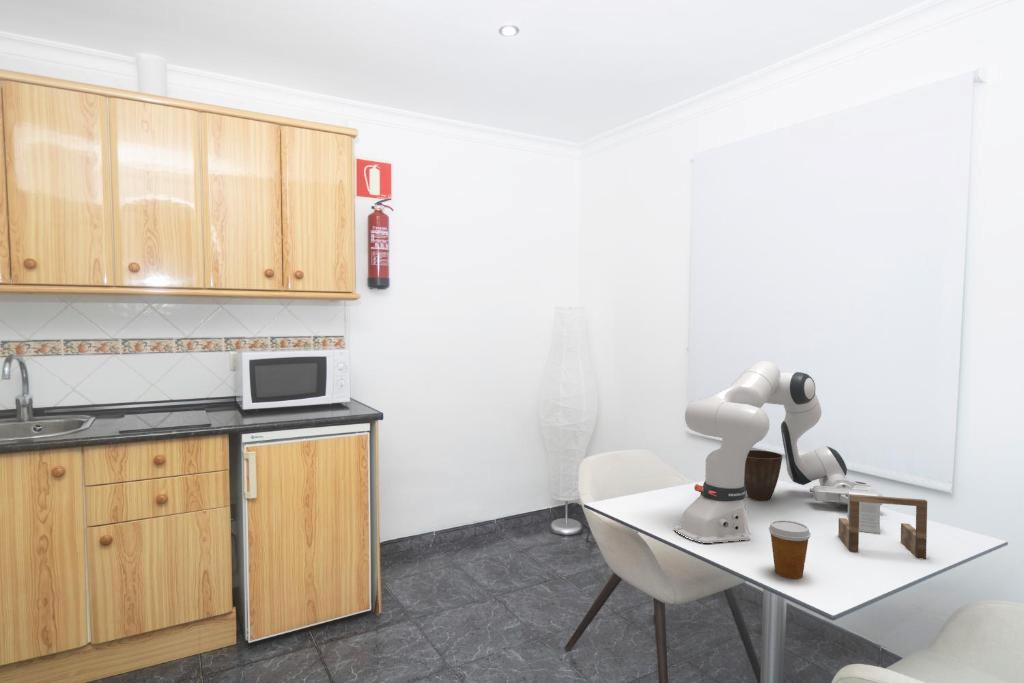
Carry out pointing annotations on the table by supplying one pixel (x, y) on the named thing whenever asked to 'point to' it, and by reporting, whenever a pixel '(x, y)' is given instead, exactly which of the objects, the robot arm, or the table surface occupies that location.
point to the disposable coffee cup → (789, 547)
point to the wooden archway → (909, 535)
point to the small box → (868, 515)
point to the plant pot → (761, 474)
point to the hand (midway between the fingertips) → (853, 502)
